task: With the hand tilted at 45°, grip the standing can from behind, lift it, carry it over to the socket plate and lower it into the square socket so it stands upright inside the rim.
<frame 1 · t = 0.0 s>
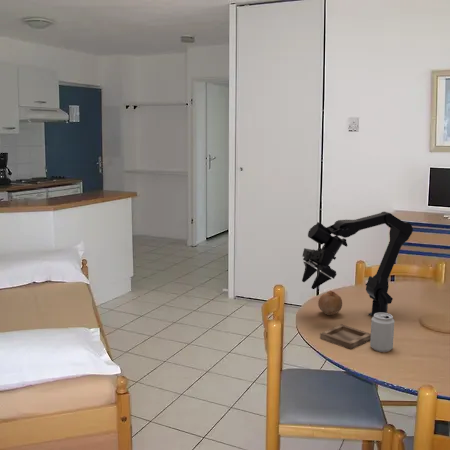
hand: (307, 285, 207), 15 cm above the table, tool tilted 35°, fingers open, 9 cm apart
onion: (329, 315, 218), on the table
socket plate: (346, 338, 194), on the table
can: (381, 349, 186), on the table
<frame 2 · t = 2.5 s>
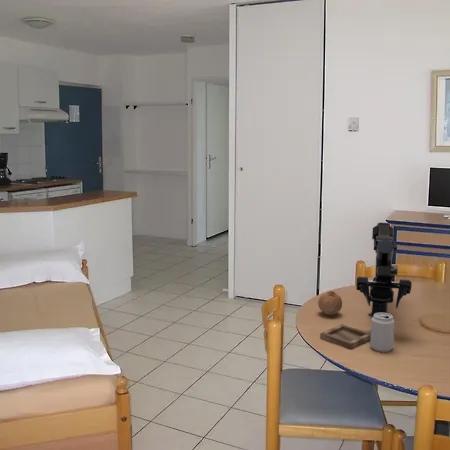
hand: (382, 306, 190), 13 cm above the table, tool tilted 45°, fingers open, 9 cm apart
nothing on the table moved.
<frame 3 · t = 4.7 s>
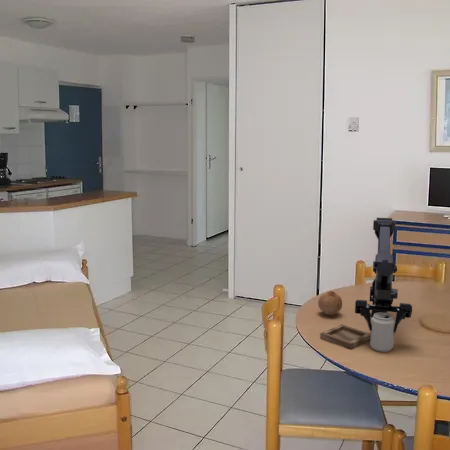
hand: (382, 331, 183), 7 cm above the table, tool tilted 45°, fingers closed on can, 7 cm apart
can: (381, 348, 186), on the table, touching gripper
everything else where it was.
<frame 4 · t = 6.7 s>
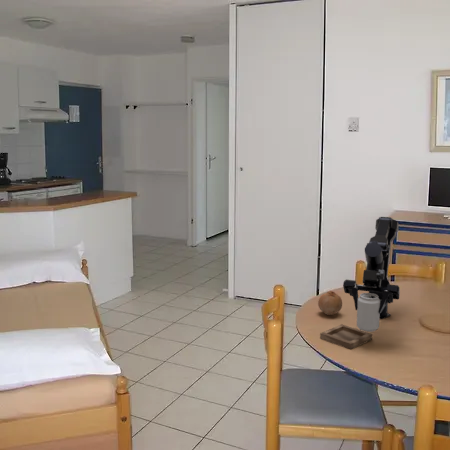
hand: (367, 311, 185), 13 cm above the table, tool tilted 45°, fingers closed on can, 7 cm apart
can: (367, 328, 188), point 6 cm above the table, touching gripper
everything else where it was.
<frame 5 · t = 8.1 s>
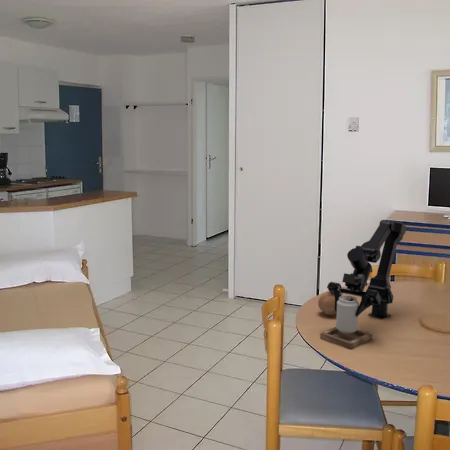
hand: (345, 313, 191), 10 cm above the table, tool tilted 45°, fingers closed on can, 7 cm apart
can: (346, 330, 193), point 3 cm above the table, touching gripper
everything else where it was.
when the fingers open (9 cm above the table, at t = 8.9 s): can drops 2 cm, resting on socket plate.
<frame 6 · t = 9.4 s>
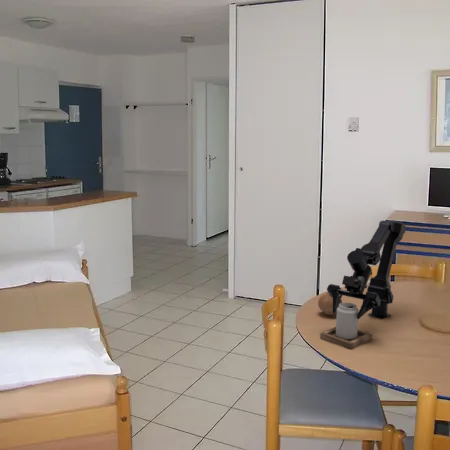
hand: (345, 315, 191), 9 cm above the table, tool tilted 45°, fingers open, 9 cm apart
can: (346, 337, 194), resting on socket plate
everything else where it was.
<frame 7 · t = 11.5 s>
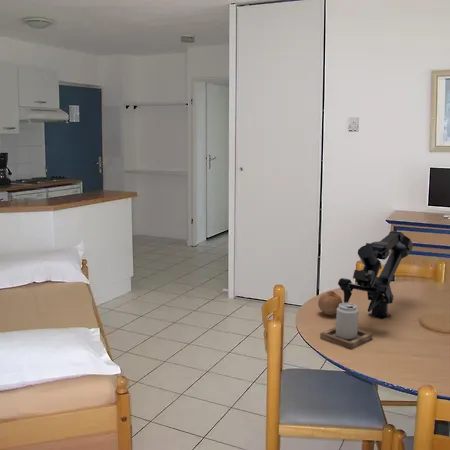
hand: (356, 308, 198), 9 cm above the table, tool tilted 45°, fingers open, 9 cm apart
nothing on the table moved.
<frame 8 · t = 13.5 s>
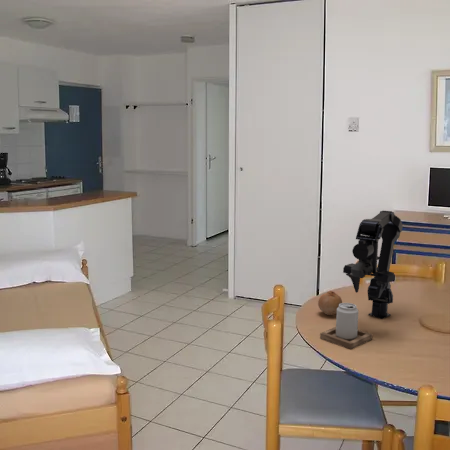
hand: (367, 295, 201), 13 cm above the table, tool pointing down, fingers open, 9 cm apart
nothing on the table moved.
at the end: can 0.2 cm off-centre on the socket plate, point 0.4 cm above the socket plate's base; can tilted 0°; the gripper is holding nothing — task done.
